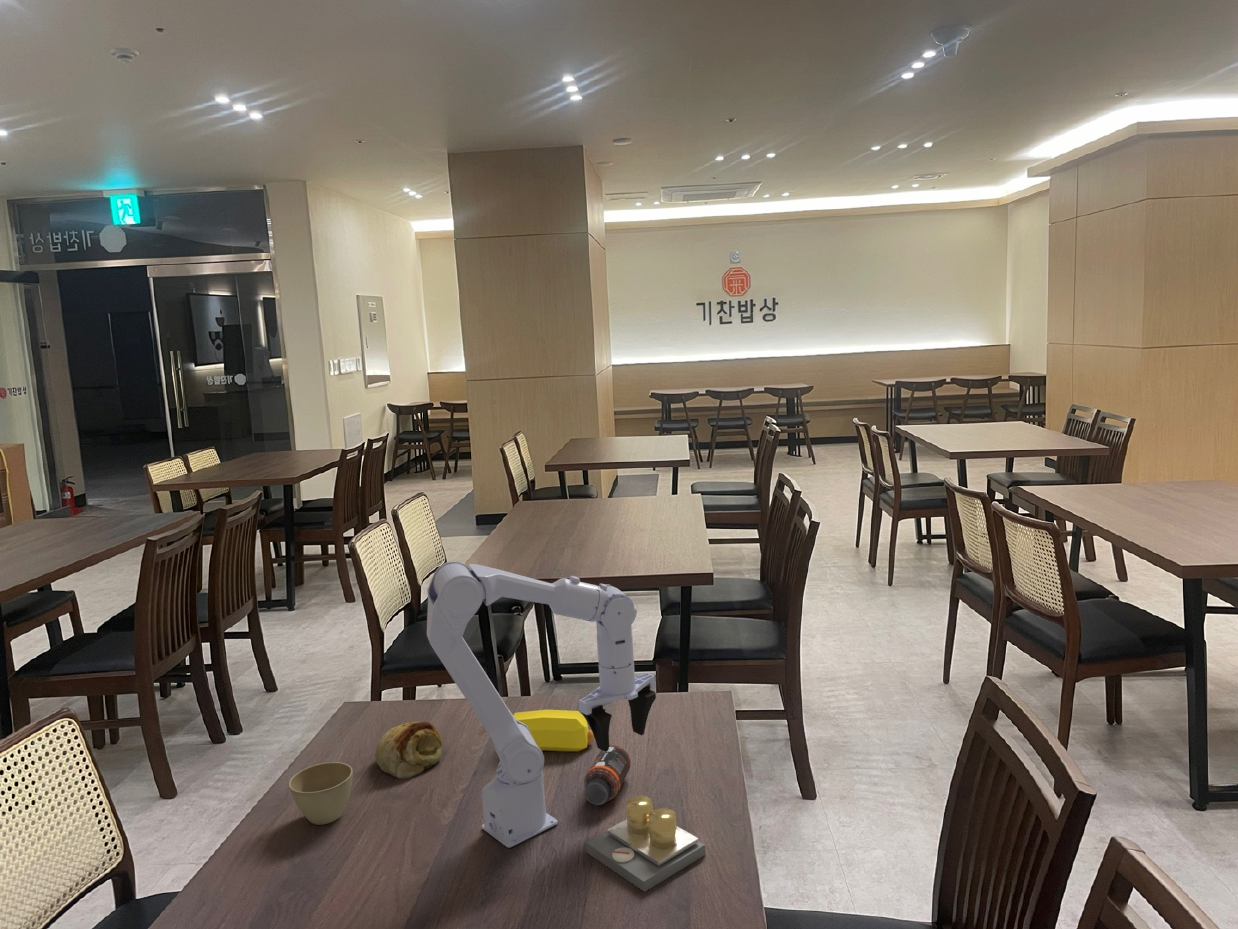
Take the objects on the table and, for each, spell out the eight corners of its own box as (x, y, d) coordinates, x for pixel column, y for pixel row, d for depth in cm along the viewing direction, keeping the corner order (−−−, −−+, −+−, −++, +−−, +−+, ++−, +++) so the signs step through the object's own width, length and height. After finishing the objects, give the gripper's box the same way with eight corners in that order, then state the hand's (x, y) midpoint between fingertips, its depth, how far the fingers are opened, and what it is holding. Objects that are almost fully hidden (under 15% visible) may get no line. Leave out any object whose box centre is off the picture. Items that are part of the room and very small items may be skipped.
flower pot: (368, 803, 148) (364, 763, 147) (334, 837, 138) (329, 795, 137) (317, 797, 151) (312, 759, 150) (280, 830, 141) (275, 789, 140)
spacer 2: (661, 852, 125) (660, 826, 124) (644, 840, 128) (643, 815, 128) (683, 841, 127) (681, 816, 127) (665, 830, 131) (664, 805, 130)
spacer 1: (622, 831, 131) (621, 806, 130) (635, 817, 134) (633, 793, 134) (646, 837, 129) (644, 812, 128) (658, 823, 132) (656, 799, 132)
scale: (644, 892, 120) (643, 879, 120) (586, 852, 130) (585, 840, 130) (705, 855, 128) (704, 842, 128) (646, 820, 138) (645, 808, 138)
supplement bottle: (602, 739, 152) (583, 771, 141) (635, 750, 150) (617, 784, 140) (595, 768, 153) (575, 803, 142) (627, 780, 152) (609, 816, 141)
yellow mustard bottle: (593, 755, 160) (597, 736, 168) (590, 721, 159) (594, 703, 167) (496, 758, 161) (504, 738, 169) (493, 724, 160) (501, 706, 168)
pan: (658, 868, 123) (658, 862, 123) (607, 835, 132) (607, 829, 132) (698, 844, 128) (698, 838, 128) (646, 814, 137) (646, 808, 137)
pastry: (425, 782, 154) (421, 739, 153) (361, 778, 157) (356, 736, 156) (457, 744, 168) (453, 704, 166) (397, 741, 170) (393, 702, 169)
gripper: (596, 682, 133) (602, 765, 135) (666, 655, 142) (670, 733, 144) (568, 670, 138) (574, 750, 140) (637, 644, 147) (641, 720, 149)
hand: (621, 741), depth 142 cm, fingers open, 7 cm apart
